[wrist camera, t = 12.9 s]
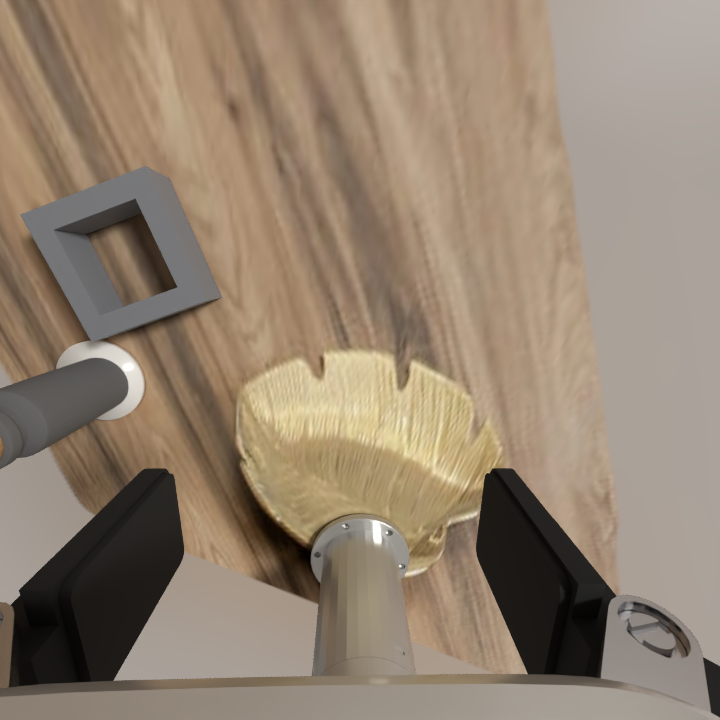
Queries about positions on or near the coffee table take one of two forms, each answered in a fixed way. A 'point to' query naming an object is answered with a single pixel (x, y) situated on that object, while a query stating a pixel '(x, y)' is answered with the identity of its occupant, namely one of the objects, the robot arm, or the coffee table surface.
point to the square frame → (84, 269)
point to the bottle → (56, 405)
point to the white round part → (119, 358)
